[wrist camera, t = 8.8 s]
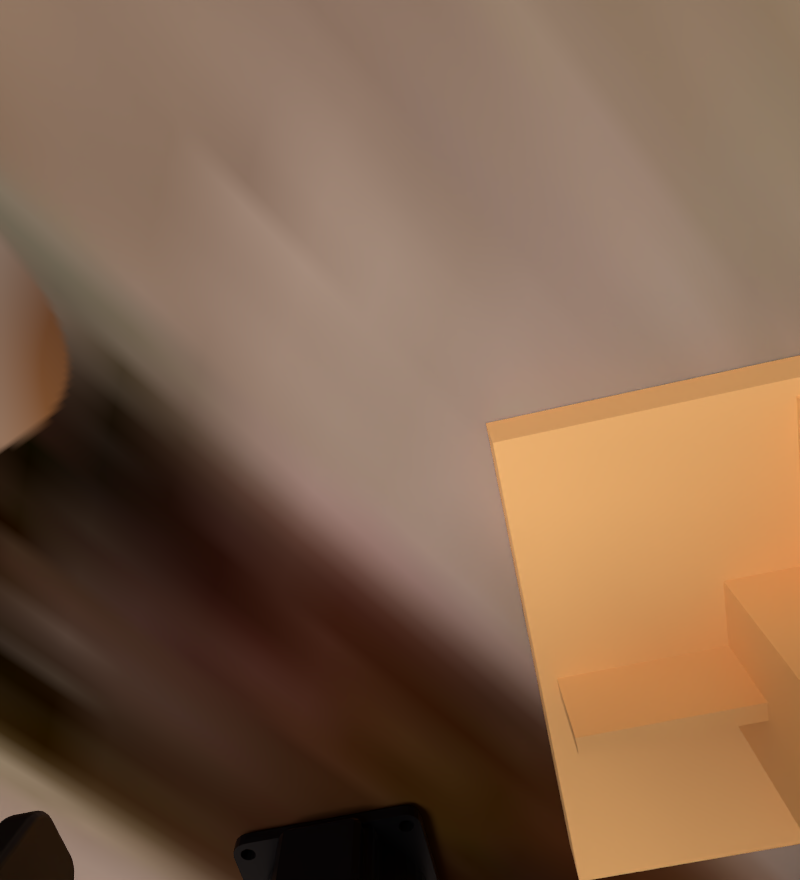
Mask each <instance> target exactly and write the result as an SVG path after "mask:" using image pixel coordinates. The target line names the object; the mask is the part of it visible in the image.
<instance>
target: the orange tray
mask: <svg viewBox="0 0 800 880" xmlns="http://www.w3.org/2000/svg"><path fill="white" fill-rule="evenodd" d="M486 426H487V431H488V436H489V441H490V446H491V451H492V456H493V461H494V466H495V471H496V476H497V481H498V486H499V491H500V496H501V501H502V506H503V511H504V516H505V521H506V526H507V531H508V536H509V541H510V546H511V551H512V556H513V561H514V566H515V571H516V576H517V581H518V587H519V592H520V597H521V602H522V607H523V612H524V617H525V622H526V627H527V632H528V637H529V642H530V647H531V652H532V657H533V662H534V667H535V672H536V677H537V682H538V687H539V692H540V697H541V702H542V707H543V712H544V717H545V722H546V727H547V732H548V737H549V742H550V747H551V752H552V757H553V762H554V767H555V772H556V777H557V782H558V787H559V792H560V797H561V802H562V807H563V812H564V817H565V822H566V827H567V832H568V837H569V842H570V846H571V850H572V854H573V858H574V862H575V866H576V870H577V874H578V878H579V880H593V879H598V878H604V877H610V876H616V875H622V874H627V873H633V872H639V871H645V870H651V869H656V868H662V867H668V866H674V865H680V864H686V863H691V862H697V861H703V860H709V859H715V858H720V857H726V856H732V855H738V854H744V853H750V852H755V851H761V850H767V849H773V848H779V847H784V846H790V845H796V844H800V355H799V356H794V357H789V358H785V359H780V360H776V361H771V362H766V363H762V364H757V365H753V366H748V367H743V368H739V369H734V370H730V371H725V372H720V373H716V374H711V375H706V376H702V377H697V378H693V379H688V380H683V381H679V382H674V383H670V384H665V385H660V386H656V387H651V388H646V389H642V390H637V391H633V392H628V393H623V394H619V395H614V396H610V397H605V398H600V399H596V400H591V401H587V402H582V403H577V404H573V405H568V406H563V407H559V408H554V409H550V410H545V411H540V412H536V413H531V414H527V415H522V416H517V417H513V418H508V419H504V420H499V421H494V422H490V423H486Z"/></svg>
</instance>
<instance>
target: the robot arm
mask: <svg viewBox="0 0 800 880" xmlns="http://www.w3.org/2000/svg"><path fill="white" fill-rule="evenodd" d="M403 821H409V822H403ZM247 849H250V850H247ZM234 858H235V861H236V863H237V865H238V868H239V870H240V873H241V875H242V877H243V880H439V876H438V873H437V869H436V866H435V863H434V859H433V856H432V852H431V849H430V845H429V842H428V838H427V835H426V831H425V828H424V825H423V821H422V818H421V814H420V812H419V811H418V809H416V808H415V807H413V806H409V805H403V806H397V807H392V808H386V809H381V810H375V811H370V812H364V813H359V814H353V815H348V816H342V817H337V818H331V819H326V820H320V821H315V822H310V823H304V824H299V825H293V826H288V827H282V828H277V829H271V830H266V831H260V832H255V833H249V834H245V835H242V836H240V837H239V838H238V839H237V841H236V844H235V848H234ZM0 880H74V866H73V861H72V858H71V856H70V854H69V852H68V850H67V848H66V846H65V844H64V842H63V840H62V839H61V837H60V835H59V833H58V831H57V829H56V827H55V825H54V823H53V821H52V819H51V818H50V816H49V815H48V814H46V813H45V812H43V811H33V812H28V813H23V814H17V815H13V816H10V817H8V818H6V819H4V820H3V821H2V822H1V823H0Z"/></svg>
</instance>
